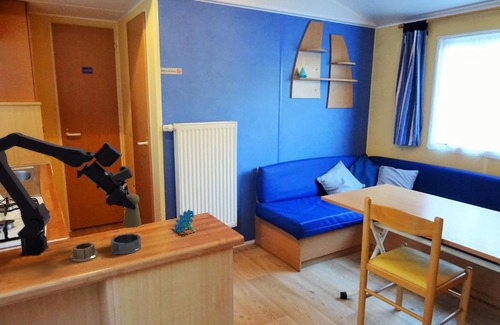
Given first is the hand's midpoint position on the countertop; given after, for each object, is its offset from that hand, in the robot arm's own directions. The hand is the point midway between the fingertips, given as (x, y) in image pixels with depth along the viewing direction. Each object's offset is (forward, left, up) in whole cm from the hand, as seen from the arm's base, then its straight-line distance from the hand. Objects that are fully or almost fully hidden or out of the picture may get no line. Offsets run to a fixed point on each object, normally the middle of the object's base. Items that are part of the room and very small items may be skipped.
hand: (135, 206), depth 123 cm
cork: (-1, 0, -7) cm, 7 cm away
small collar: (-15, -11, -13) cm, 22 cm away
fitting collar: (-3, -6, -13) cm, 14 cm away
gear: (+16, +9, -13) cm, 23 cm away
